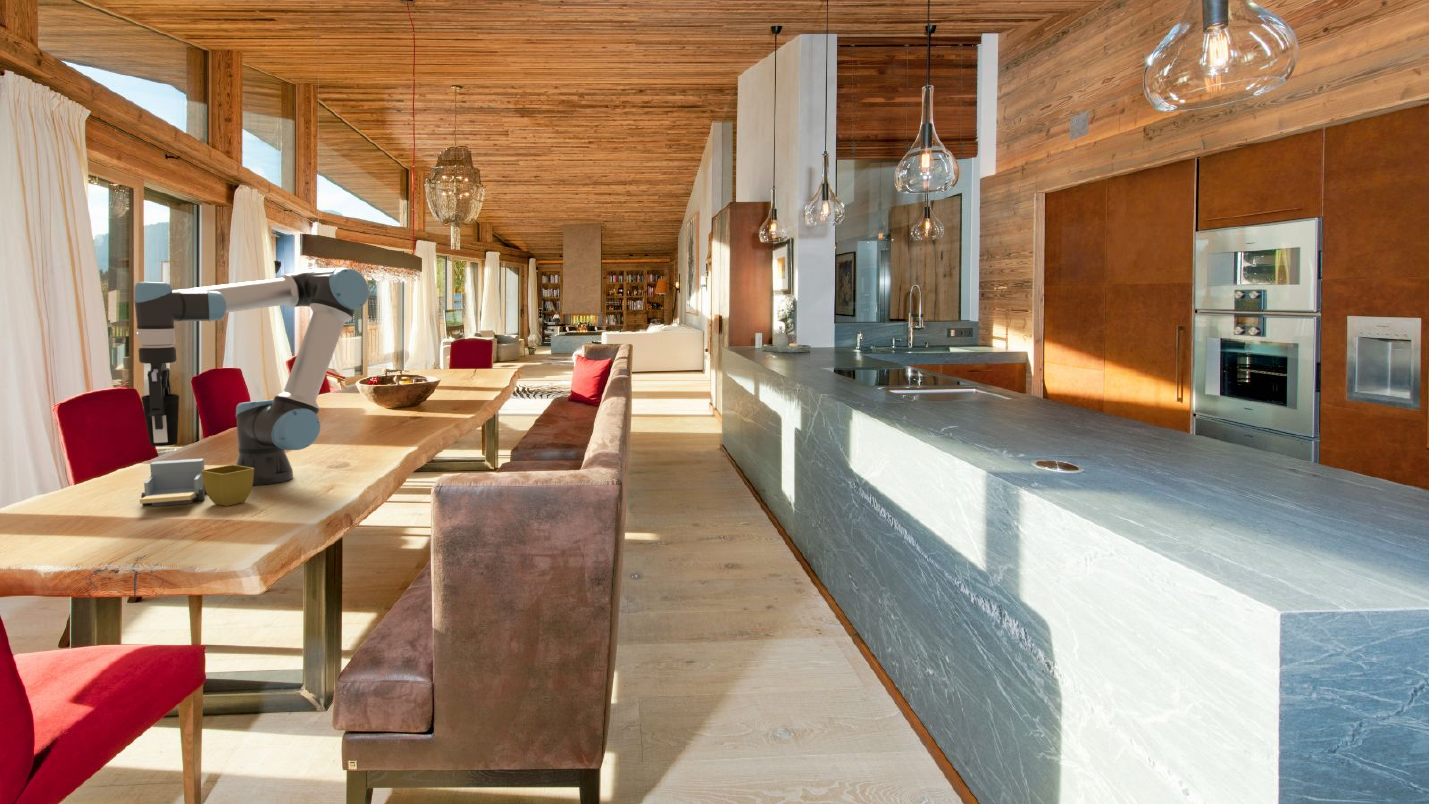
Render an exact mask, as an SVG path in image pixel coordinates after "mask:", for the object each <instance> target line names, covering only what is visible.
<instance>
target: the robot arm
mask: <svg viewBox="0 0 1429 804" xmlns="http://www.w3.org/2000/svg"><path fill="white" fill-rule="evenodd" d="M366 280H367V279H365V277H364V276H363V275H362V273H361V272H359V271H358V270H356V269H354V268H349V267H344V266H339V267H315V268H311V269H307V270H304V271H303V270H302V271H299V272H293V273H286V274H282V275H280V276H279V278H273V279H272V278H271V279H264V280H263V279H262V280H254V281H253V280H252V281H243V282H237V283H236V282H235V283H226V284H216V285H208V286H207V285H206V286H199V287H191V288H181V289H173V287H172V285H171V284H170V282H160V281H159V282H157V281H155V282H154V281H152V282H151V281H139V282H137V283H135V285H134V290H133V292H134V293H133V296H134V298H133V299H134V300H133V303H134V308H135V309H134V311H135V318H136V329H137V330H136V331H137V332H134V334H133V335H134V337H135V338H136V337H137V344H138V345H139V346H141V347H139V348H138V360H139V363H141V364H145V365H147V364H150V370H148V371H147V380H148V395H149V401H150V413H148V416H152V424H153V437H154V443H162V442H168V437H167V424H166V415H164V414H165V412H164V397H168V396H169V394H172V386H171V378H170V376H171V370H170V368H169V367H167V364H172V363H175V362H177V349H176V347H175V345H176V341H177V340H176V332H175V331H176V329H175V322H212V321H213V322H214V321H221V320H223V318H224V317H225V316H226V313H234V312H241V311H242V312H243V311H248V310H256V309H257V310H258V309H264V308H271V307H278V306H284V305H285V307H288V308H296V307H310V309H311V311H312V315H311V318H310V320H309V323H308V326H307V327H306V331H305V334H304V336H303V338H302V341H301V343H300V347H299V348H298V352H297V355H296V357H295V360H294V362H293V365H292V368H291V371H290V373H289V376H288V379H287V380H286V381H287V382H286V384H285V387H284V388H283V391H282V392H280V393H277V394H276V395H274V397H273V399H267V400H255V401H245V402H239V403H238V404H237V405H236V408H235V410H236V411H235V418H236V432H237V446H238V458H237V460H236V463H235V465H238V466H245V467H251V468H254V477H253V486H262V485H272V484H273V485H274V484H277V483H282V482H287V481H290V480H292V479H293V478H294V472H293V471H294V470H293V467H292V466H291V462H290V461H289V458H288V456H287V454H286V451H300V450H304V449H306V448H307V447H310V446H311V445H312V444H314V442H315V441H316V440H317V438H318V437H319V435H320V432H321V422H320V418H319V416H318V413H319V411H320V406H319V404H318V403H317V399H318V397H319V393H320V390H321V388H322V385H323V383H324V380H325V378H326V375H327V372H328V369H329V366H330V363H331V361H332V358H333V355H334V353H335V350H336V348H337V344H338V342H339V339H340V336H341V333H342V331H343V328H344V325H345V323H348V322H350V321H352V320H353V318H354V314H355V312H356V310H358V309H361V308H362V307H364V306H365V304H366V303H367V301H368V300H369V297H370V295H369V294H370V290H369V289H370V288H369V284H368V283H367V281H366Z"/></svg>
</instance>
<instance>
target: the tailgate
mask: <svg viewBox="0 0 1429 804" xmlns="http://www.w3.org/2000/svg"><path fill="white" fill-rule="evenodd" d="M195 496H196V492H190V493H177V494H164V495H151V496H145V497H143V498H140V499H139V505H140V504H141V505H142V503H150V504H153V503H154V502H167V501H179V500H191V499H192V498H194V497H195ZM196 497H197V496H196Z"/></svg>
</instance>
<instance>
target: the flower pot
mask: <svg viewBox="0 0 1429 804" xmlns="http://www.w3.org/2000/svg"><path fill="white" fill-rule="evenodd" d="M201 473H202V478H203V483H204V488H205V491H206V493H205V494H206V496H207V497H208V498H209V500H211V502H212V503H213V504H215V505H220V506H224V507H229V506H233V505H237V504H242V503H245V502H246V500H247V499H248V498H249V496H250V494H251V493H252V489H253V486H254V485H253V477H254V468H251V467H245V466H238V465H236V464H229V465H222V466H219V467H218V466H217V467H212V468H206V469H204V470H202V471H201Z"/></svg>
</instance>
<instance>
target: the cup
mask: <svg viewBox="0 0 1429 804" xmlns="http://www.w3.org/2000/svg"><path fill="white" fill-rule="evenodd" d="M141 403H142V407H143V414H144V419H145V423H146V429H147V434H148V440H149V446H151V447H168V446H173V445H174V446H175V445H177V444H178V438H179V436H178V435H179V410H180V409H179V407H180V405H179V404H180V395H179V394H177V393H171V394H169V396H168V397H164V412H165V414H164V415H166V424H167V437H168V442H162V443H154V437H153V424H152V416H148V413H150V401H149V394H147V395H142V396H141Z"/></svg>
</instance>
